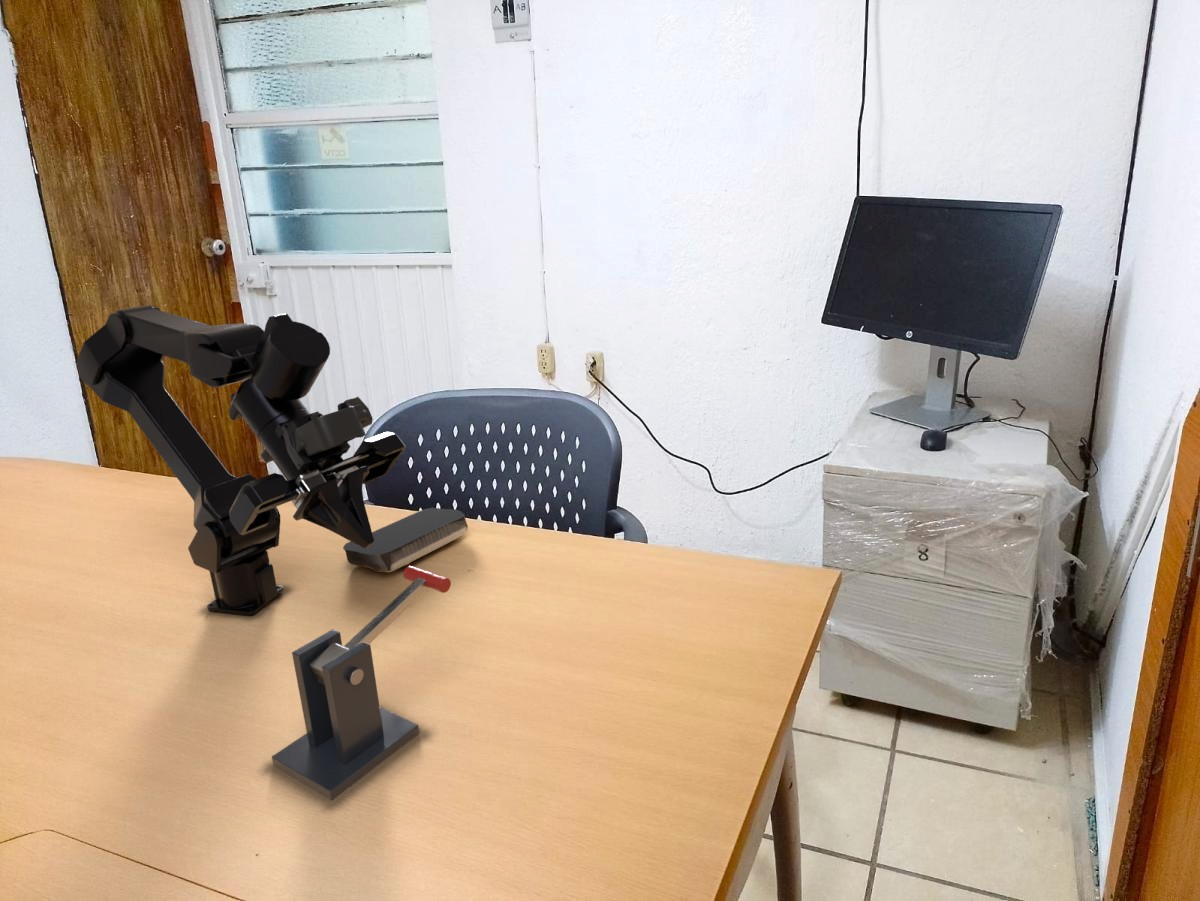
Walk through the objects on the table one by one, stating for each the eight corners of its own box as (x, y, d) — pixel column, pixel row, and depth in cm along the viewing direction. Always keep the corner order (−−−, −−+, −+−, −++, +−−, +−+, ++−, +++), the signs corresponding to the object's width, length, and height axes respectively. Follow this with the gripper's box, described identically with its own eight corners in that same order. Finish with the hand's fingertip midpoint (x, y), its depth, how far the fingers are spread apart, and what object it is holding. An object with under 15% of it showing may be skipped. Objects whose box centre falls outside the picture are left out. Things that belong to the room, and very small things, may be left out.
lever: (417, 577, 82) (410, 558, 81) (454, 590, 80) (447, 571, 78) (308, 678, 73) (298, 659, 72) (346, 696, 70) (336, 677, 69)
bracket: (362, 707, 81) (347, 610, 77) (420, 735, 77) (406, 634, 73) (273, 767, 73) (252, 663, 70) (332, 802, 69) (312, 693, 65)
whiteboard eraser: (383, 584, 104) (379, 557, 103) (341, 567, 109) (337, 541, 108) (474, 537, 117) (472, 513, 115) (433, 523, 121) (431, 500, 120)
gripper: (223, 402, 74) (321, 541, 71) (383, 358, 88) (469, 473, 86) (191, 470, 81) (280, 599, 78) (345, 419, 95) (423, 526, 93)
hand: (369, 545), depth 84 cm, fingers closed
